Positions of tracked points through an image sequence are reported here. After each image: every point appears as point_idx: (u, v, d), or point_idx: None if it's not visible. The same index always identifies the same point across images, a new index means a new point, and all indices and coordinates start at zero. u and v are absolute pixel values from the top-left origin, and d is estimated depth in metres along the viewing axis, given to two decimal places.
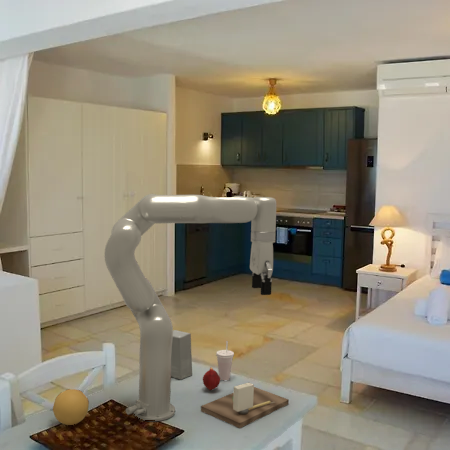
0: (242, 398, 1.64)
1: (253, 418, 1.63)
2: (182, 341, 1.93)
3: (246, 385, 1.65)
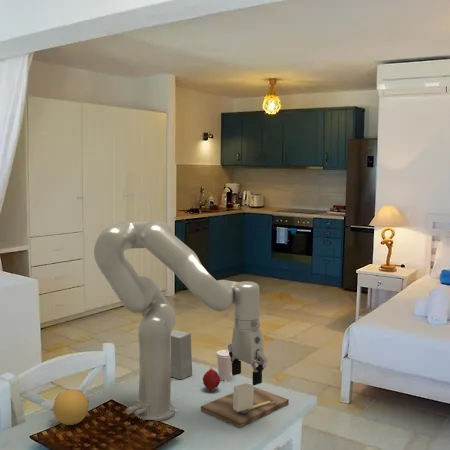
0: (242, 398, 1.64)
1: (253, 418, 1.63)
2: (182, 341, 1.93)
3: (246, 385, 1.65)
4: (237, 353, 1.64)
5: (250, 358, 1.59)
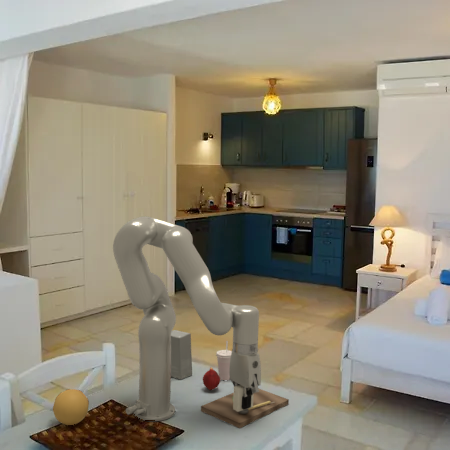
0: None
1: (253, 418, 1.63)
2: (182, 341, 1.93)
3: None
4: (235, 376, 1.65)
5: (247, 382, 1.60)
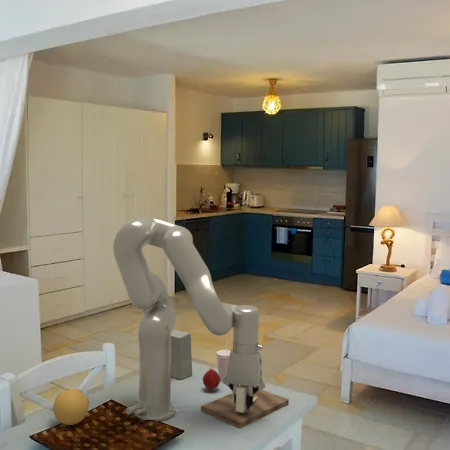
0: (245, 398, 1.64)
1: (253, 418, 1.63)
2: (182, 341, 1.93)
3: None
4: (237, 378, 1.63)
5: (256, 380, 1.62)
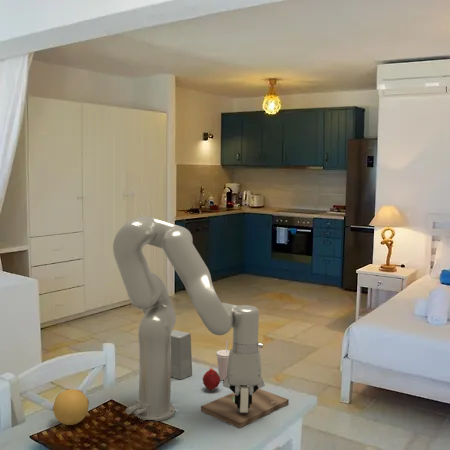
0: None
1: (253, 418, 1.63)
2: (182, 341, 1.93)
3: None
4: (239, 379, 1.62)
5: (258, 379, 1.63)
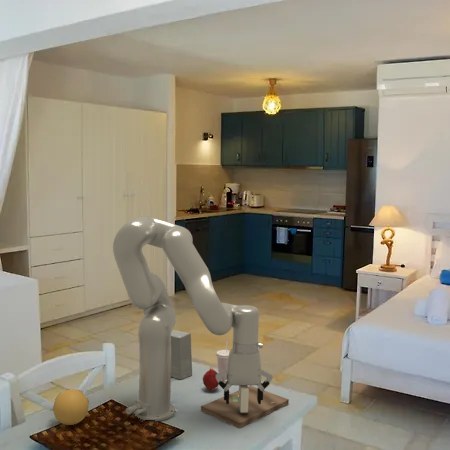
0: None
1: (253, 418, 1.63)
2: (182, 341, 1.93)
3: None
4: (239, 379, 1.62)
5: (258, 379, 1.63)
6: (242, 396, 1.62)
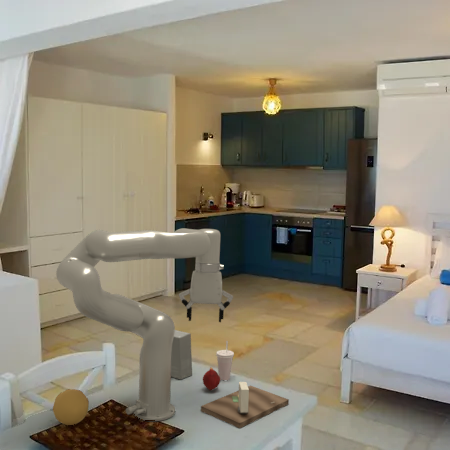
0: None
1: (253, 418, 1.63)
2: (182, 341, 1.93)
3: (244, 384, 1.66)
4: (200, 297, 1.73)
5: (219, 298, 1.73)
6: (242, 396, 1.62)
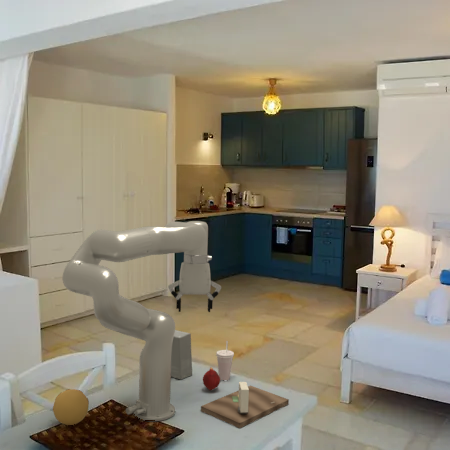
0: None
1: (253, 418, 1.63)
2: (182, 341, 1.93)
3: (244, 384, 1.66)
4: (190, 288, 1.76)
5: (208, 288, 1.77)
6: (242, 396, 1.62)
